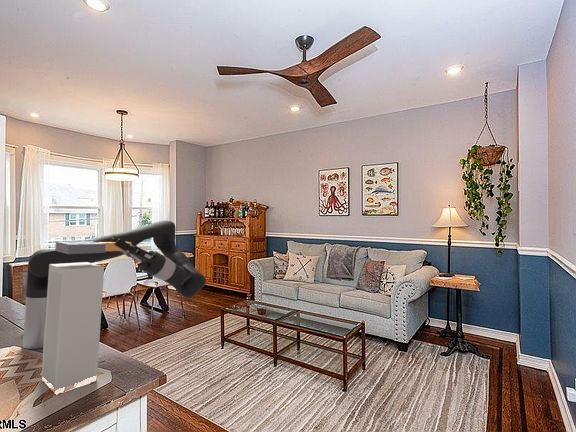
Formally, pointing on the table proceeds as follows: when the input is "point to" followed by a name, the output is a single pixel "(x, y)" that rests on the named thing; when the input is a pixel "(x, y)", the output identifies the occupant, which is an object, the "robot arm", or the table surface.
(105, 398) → the table surface
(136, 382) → the table surface
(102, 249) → the grey paddle with handle
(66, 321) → the tall grey pillar
